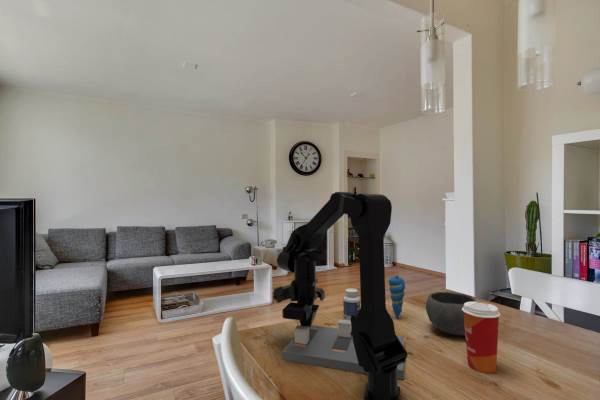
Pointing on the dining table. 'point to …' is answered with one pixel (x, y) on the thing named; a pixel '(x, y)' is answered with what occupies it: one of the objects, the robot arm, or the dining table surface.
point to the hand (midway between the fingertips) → (305, 334)
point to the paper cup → (481, 335)
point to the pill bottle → (351, 303)
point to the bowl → (448, 311)
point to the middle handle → (344, 328)
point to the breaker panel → (329, 351)
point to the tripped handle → (301, 334)
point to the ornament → (397, 294)
